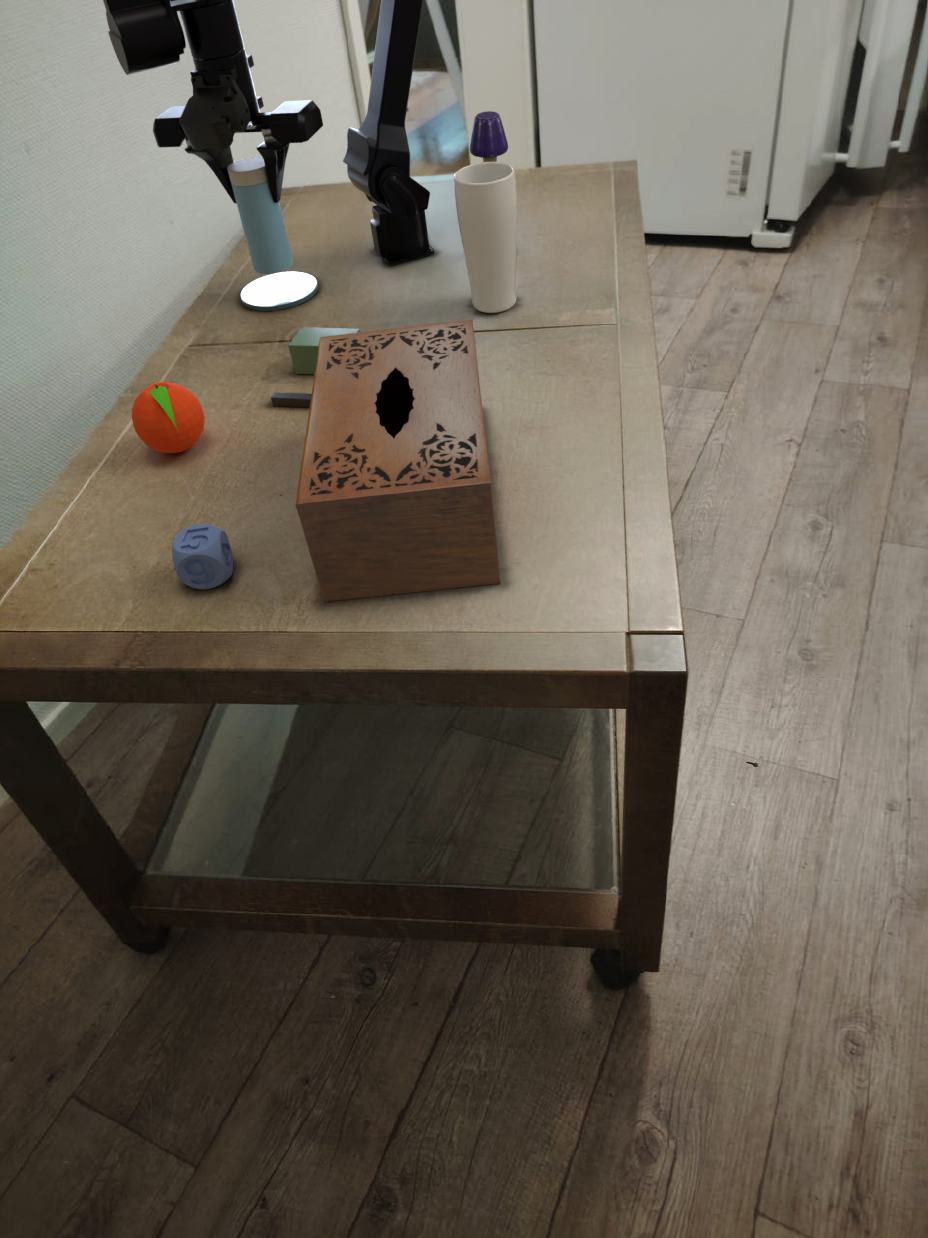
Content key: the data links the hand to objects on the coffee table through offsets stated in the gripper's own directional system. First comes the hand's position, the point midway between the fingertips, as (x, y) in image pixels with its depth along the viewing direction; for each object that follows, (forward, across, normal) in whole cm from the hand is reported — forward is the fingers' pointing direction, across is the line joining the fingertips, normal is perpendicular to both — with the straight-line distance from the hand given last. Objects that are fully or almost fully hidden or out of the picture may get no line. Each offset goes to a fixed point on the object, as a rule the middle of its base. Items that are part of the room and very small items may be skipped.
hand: (257, 201), depth 107 cm
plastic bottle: (+6, 0, +4) cm, 7 cm away
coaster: (+11, 0, 0) cm, 11 cm away
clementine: (+12, +3, -35) cm, 37 cm away
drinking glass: (+12, +29, -2) cm, 31 cm away
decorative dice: (+12, +15, -52) cm, 56 cm away
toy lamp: (+12, +26, +12) cm, 31 cm away
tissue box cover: (+12, +29, -40) cm, 51 cm away
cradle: (+11, +13, -21) cm, 27 cm away
